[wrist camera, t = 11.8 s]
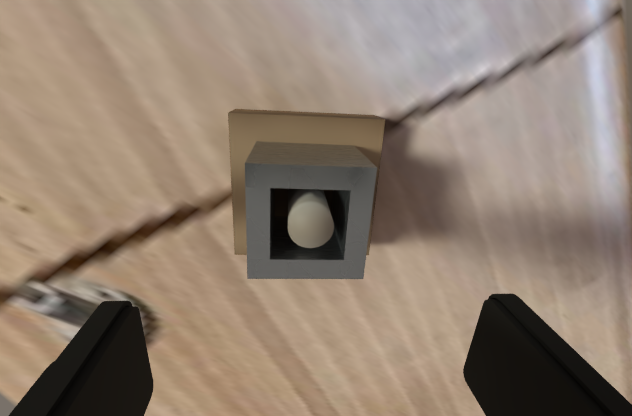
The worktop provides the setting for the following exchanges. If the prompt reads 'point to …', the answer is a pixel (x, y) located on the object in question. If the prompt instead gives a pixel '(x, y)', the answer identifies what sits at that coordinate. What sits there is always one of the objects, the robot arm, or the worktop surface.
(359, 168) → the gray hollow cube
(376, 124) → the shaft block
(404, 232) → the worktop surface
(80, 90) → the worktop surface
